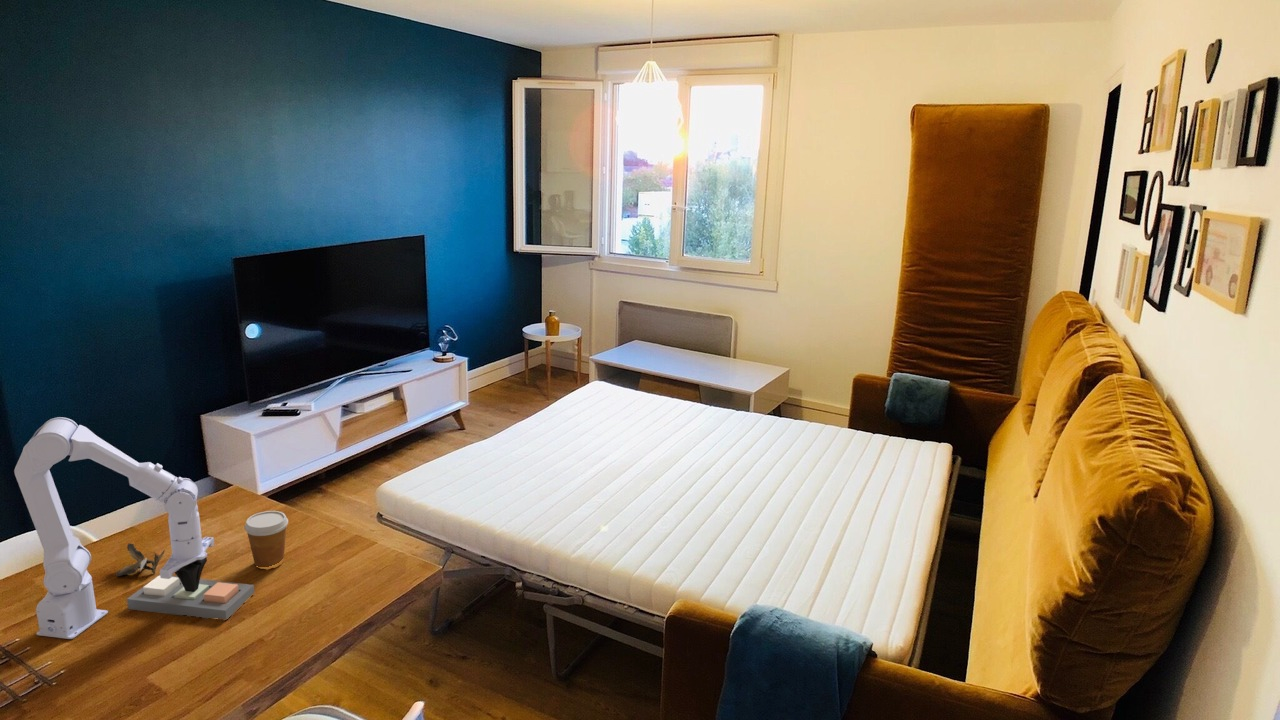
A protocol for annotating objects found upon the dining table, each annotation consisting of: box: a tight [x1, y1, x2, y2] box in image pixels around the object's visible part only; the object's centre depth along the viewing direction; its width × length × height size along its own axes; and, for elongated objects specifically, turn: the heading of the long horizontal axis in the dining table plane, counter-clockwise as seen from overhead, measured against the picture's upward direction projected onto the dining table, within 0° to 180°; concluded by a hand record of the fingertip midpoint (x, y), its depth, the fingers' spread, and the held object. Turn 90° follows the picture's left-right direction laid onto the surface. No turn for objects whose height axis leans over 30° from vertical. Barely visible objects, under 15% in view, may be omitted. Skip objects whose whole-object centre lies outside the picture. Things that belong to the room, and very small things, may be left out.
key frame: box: [126, 574, 255, 620], centre depth 164 cm, size 10×23×2 cm, turn 85°
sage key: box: [174, 584, 209, 600], centre depth 163 cm, size 5×5×3 cm
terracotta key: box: [204, 582, 239, 604], centre depth 163 cm, size 5×5×3 cm
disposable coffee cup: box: [244, 510, 289, 567], centre depth 179 cm, size 10×10×12 cm
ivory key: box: [142, 575, 180, 597], centre depth 164 cm, size 5×5×3 cm
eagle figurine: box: [115, 542, 166, 577], centre depth 173 cm, size 8×7×9 cm
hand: (191, 590), depth 163 cm, fingers closed, pressing on sage key
